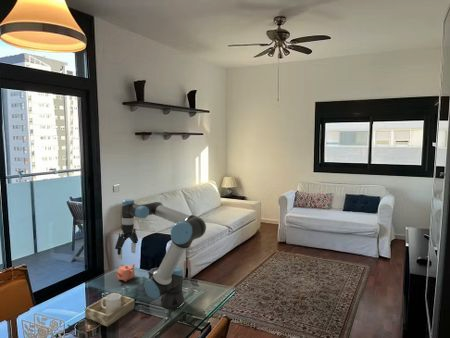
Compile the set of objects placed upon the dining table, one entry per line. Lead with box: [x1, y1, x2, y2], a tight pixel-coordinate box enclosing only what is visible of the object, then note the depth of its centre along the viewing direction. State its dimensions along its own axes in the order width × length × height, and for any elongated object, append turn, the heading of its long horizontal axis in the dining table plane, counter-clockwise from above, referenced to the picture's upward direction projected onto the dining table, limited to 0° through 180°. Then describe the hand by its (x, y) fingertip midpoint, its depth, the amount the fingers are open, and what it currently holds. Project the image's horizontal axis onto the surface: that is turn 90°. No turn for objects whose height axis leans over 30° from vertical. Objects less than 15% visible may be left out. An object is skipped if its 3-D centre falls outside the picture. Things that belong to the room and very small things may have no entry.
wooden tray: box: [84, 292, 136, 327], centre depth 191 cm, size 17×22×6 cm
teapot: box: [116, 262, 136, 283], centre depth 237 cm, size 14×12×10 cm
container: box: [147, 267, 159, 279], centre depth 232 cm, size 13×13×10 cm
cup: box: [100, 292, 122, 315], centre depth 190 cm, size 8×12×10 cm
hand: (126, 255), depth 209 cm, fingers open, 13 cm apart
